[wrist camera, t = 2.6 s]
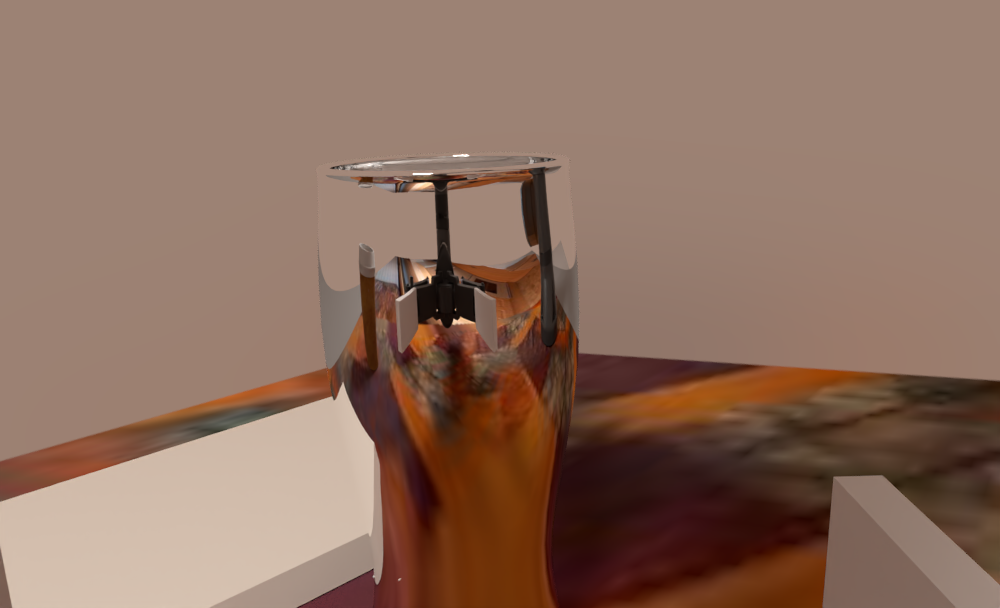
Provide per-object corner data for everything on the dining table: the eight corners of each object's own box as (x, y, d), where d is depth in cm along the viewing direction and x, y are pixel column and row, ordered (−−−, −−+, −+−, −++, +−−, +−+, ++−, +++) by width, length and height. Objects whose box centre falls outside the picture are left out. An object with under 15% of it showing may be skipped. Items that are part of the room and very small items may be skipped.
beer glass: (438, 568, 29) (414, 150, 25) (617, 624, 25) (619, 151, 22) (303, 688, 23) (246, 170, 19) (511, 783, 20) (489, 175, 16)
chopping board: (387, 404, 45) (385, 379, 45) (559, 474, 36) (558, 443, 35) (-81, 565, 30) (-89, 530, 30) (9, 753, 21) (-1, 705, 21)
